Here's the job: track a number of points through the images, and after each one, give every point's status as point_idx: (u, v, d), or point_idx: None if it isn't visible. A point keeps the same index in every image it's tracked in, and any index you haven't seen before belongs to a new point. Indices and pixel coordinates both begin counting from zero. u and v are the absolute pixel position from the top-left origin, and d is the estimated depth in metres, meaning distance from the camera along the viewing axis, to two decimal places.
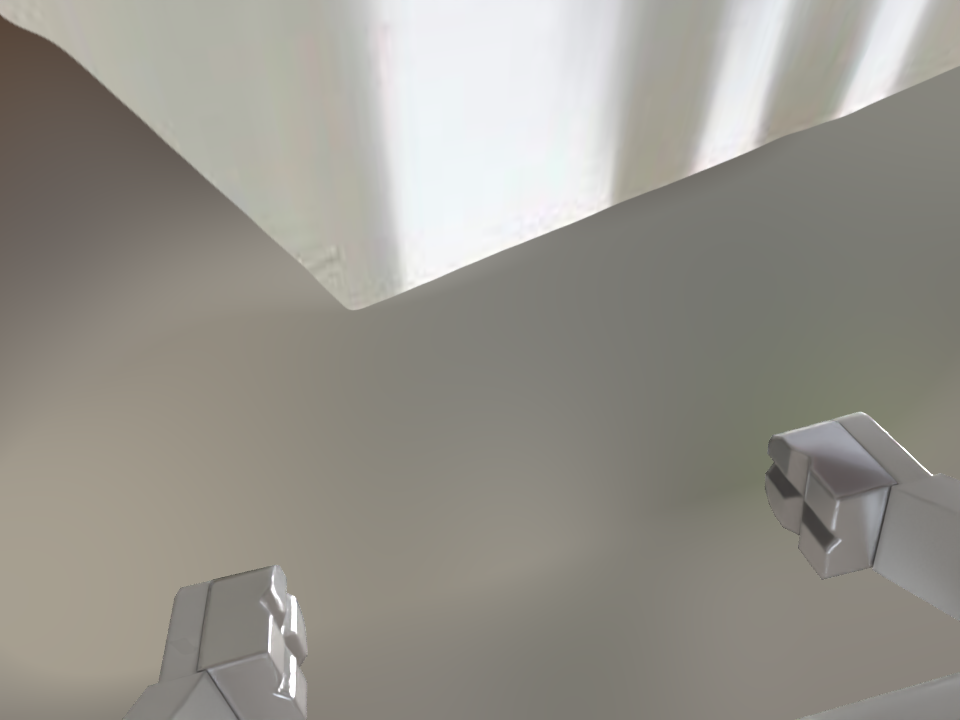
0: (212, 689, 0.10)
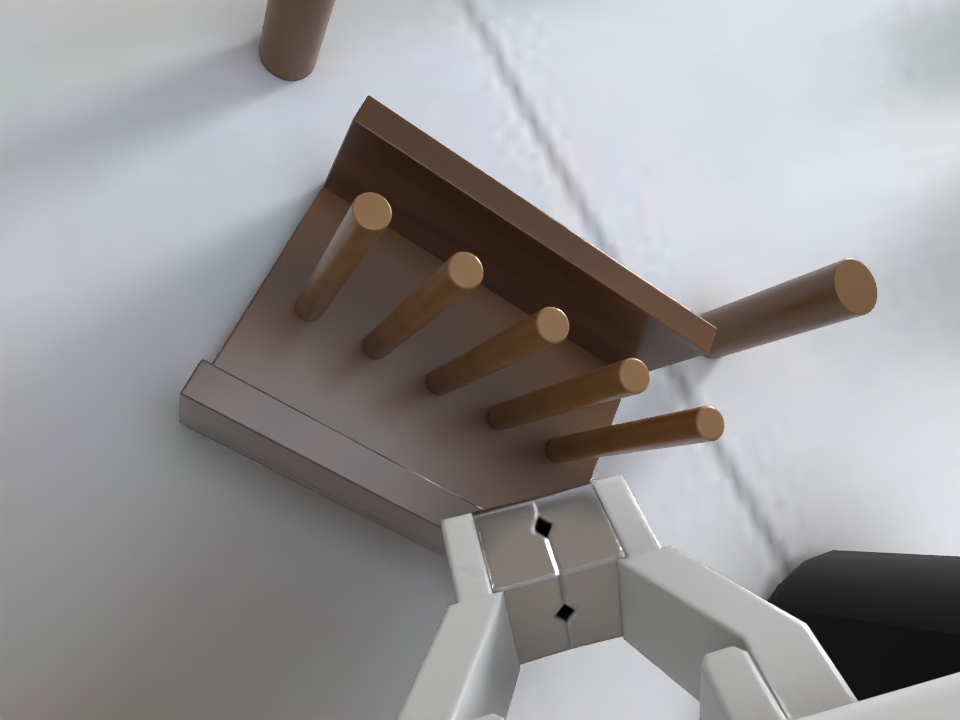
0: (505, 610, 0.10)
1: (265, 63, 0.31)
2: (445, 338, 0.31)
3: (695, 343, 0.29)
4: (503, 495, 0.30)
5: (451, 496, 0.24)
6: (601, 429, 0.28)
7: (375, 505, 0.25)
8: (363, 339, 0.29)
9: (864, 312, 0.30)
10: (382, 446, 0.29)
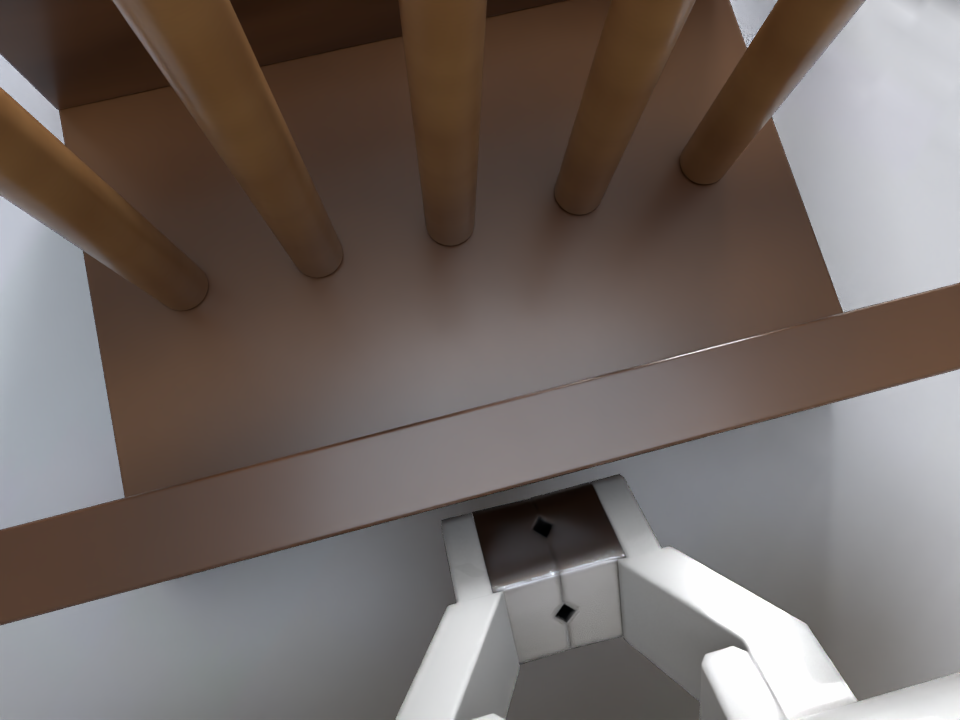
0: (505, 610, 0.10)
1: None
2: (405, 157, 0.17)
3: None
4: (680, 295, 0.16)
5: (585, 388, 0.10)
6: (750, 48, 0.13)
7: None
8: (293, 262, 0.16)
9: None
10: (447, 380, 0.16)
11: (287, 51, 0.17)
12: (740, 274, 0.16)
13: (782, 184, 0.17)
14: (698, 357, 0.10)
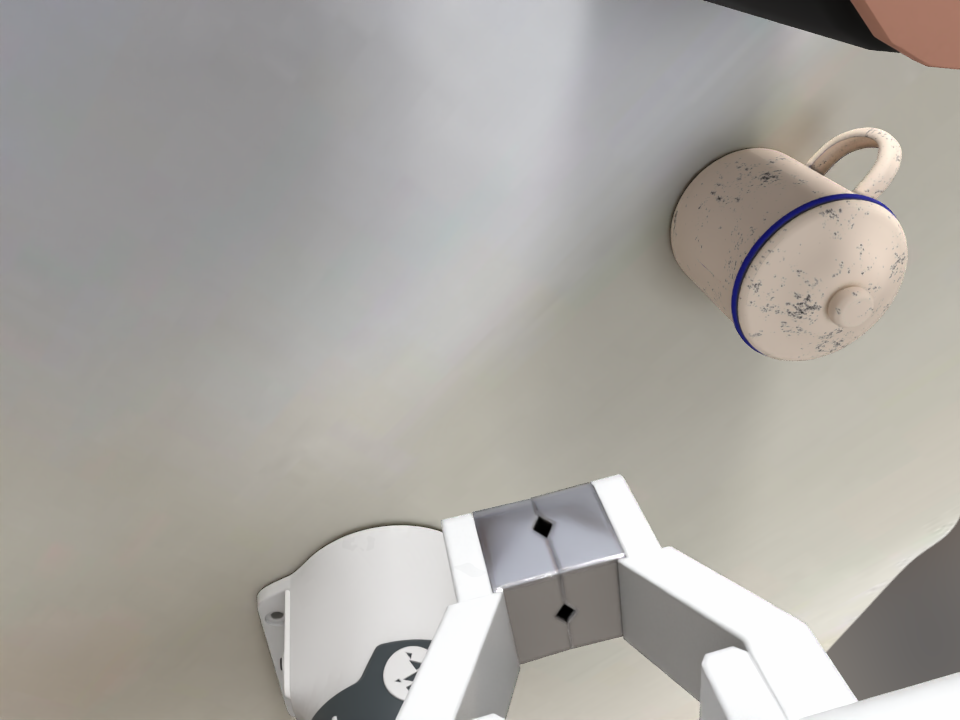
0: (505, 610, 0.10)
1: None
2: None
3: None
4: None
5: None
6: None
7: None
8: None
9: None
10: None
11: None
12: None
13: None
14: None
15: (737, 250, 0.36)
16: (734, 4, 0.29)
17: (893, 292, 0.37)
